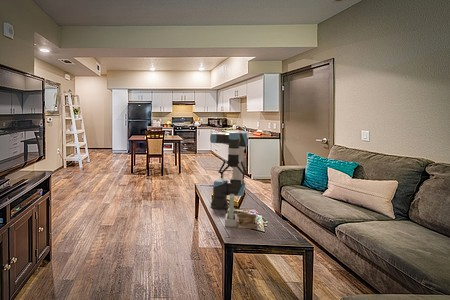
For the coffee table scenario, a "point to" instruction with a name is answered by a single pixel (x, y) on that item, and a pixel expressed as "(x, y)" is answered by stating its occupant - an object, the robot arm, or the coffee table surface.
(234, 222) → the bin
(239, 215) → the rack
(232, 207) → the grey-green flat block
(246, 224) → the offcut walnut
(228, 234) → the coffee table surface
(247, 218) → the offcut oak
